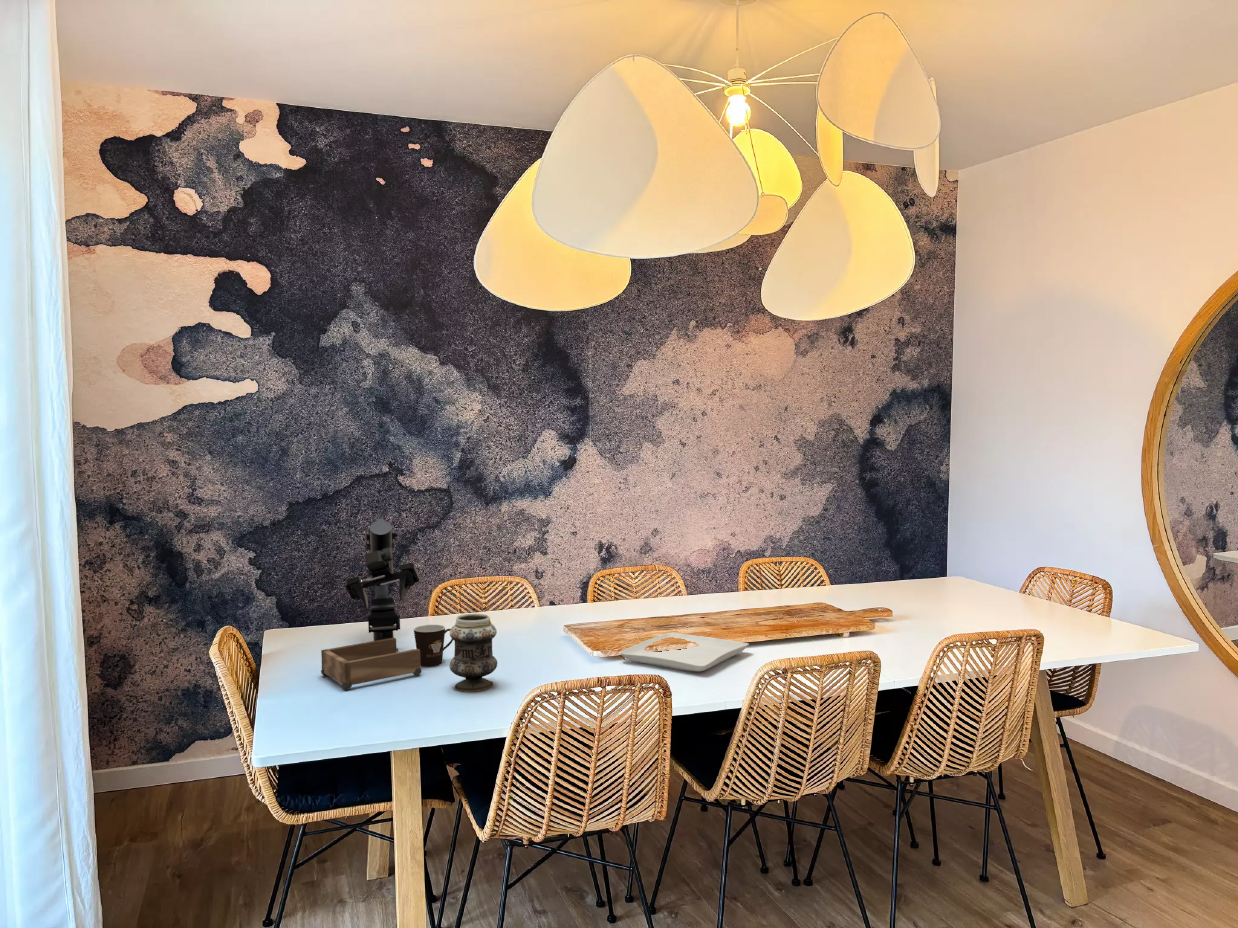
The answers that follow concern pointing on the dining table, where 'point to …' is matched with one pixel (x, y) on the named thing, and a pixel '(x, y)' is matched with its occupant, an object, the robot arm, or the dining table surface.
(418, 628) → the coffee mug
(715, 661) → the square plate
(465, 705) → the dining table surface
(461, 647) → the apothecary jar
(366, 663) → the caster frame
